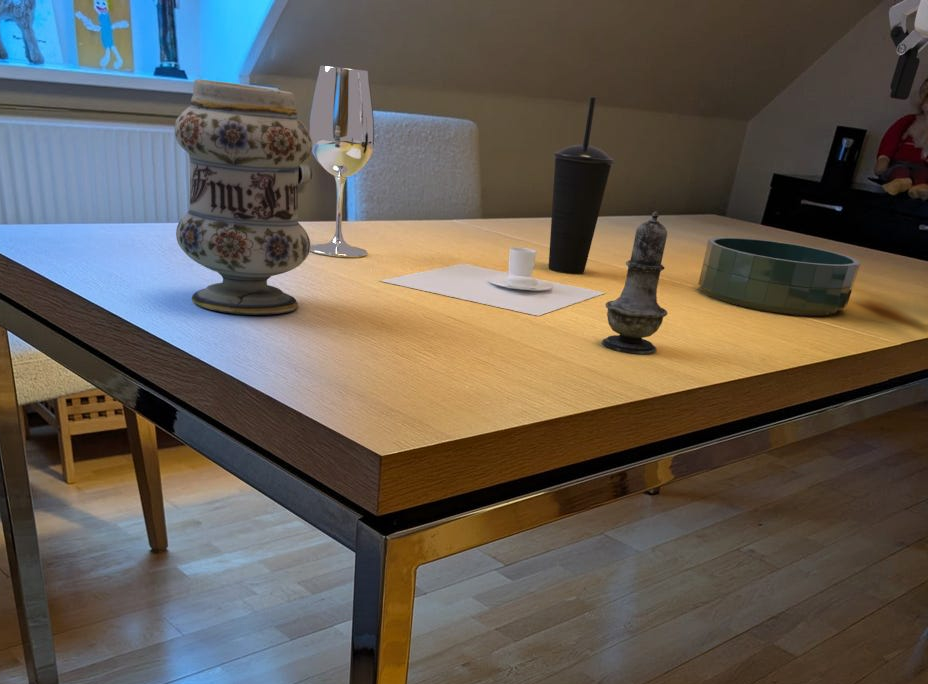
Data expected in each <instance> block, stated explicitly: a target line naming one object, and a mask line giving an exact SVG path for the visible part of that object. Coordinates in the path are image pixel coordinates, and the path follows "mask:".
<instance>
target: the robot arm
mask: <svg viewBox="0 0 928 684" xmlns="http://www.w3.org/2000/svg"><path fill="white" fill-rule="evenodd" d="M915 12H916V15H915V19H914V26H913V27H914V29H913V30H912V31H911V32H910V31H909V30H908V29H907V18H908V16H909V15H911V14H913V13H915ZM888 18H889V19H888V20H889V27H890V38H891V40H892V42H893V44H894V46H895V51H896V54H897V55H898V59H897V62H896V65H895V69H894V73H893V75H892V79H891V82H890V90H891V91H890V95H889V96H890V99H894V100H895V99H896V100H901V101H902V100H903V101H906V100H907V99H909V97H910V95H911V91H912V87H913V85H914V83H915V78H916V75H917V72H918V69H919V66H920V61H921V60H920V57H918V54H919V53H920V52H921V51H922V50H923V49H925V47H926V46H927V45H928V0H902V1H900V2H898V3H896V4H894V5H892V6H891V7H890V8H889V10H888Z"/></svg>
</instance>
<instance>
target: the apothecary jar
mask: <svg viewBox="0 0 928 684" xmlns="http://www.w3.org/2000/svg"><path fill="white" fill-rule="evenodd" d="M192 85H193V86H192V96H191V98H190V105H189V106H188V107H187V108H185V109H184V110H183V111H181V112H180V113H179V115H178V116H177V117H176V120H175V122H174V128H173V129H174V137H175V139H176V142H177V144H178V145H179V146H180V147H181V148H182V149H183V150H184V151H185V152H186V153H187V154H188V157H189V182H190V183H189V210H188V211H187V212H185V214H184V215H183V216H182V217H181V218H180V220H179V221H178V224H177V225H176V232H175V236H176V241H177V244H178V246H179V247H180V249H181V250H182V251H183V253H185V255H187V257H189V258H190V259H191V260H192V261H194V262H195V263H197V264H199V265H201V266H203V267H205V268H207V269H208V270H211V271H213V272H216V273H218V274H219V275H220V277H222V282H217V283H212V284H209V285H207V286H206V287H205V288H201V289H199V290H197V291H196V292H194V293H193V294H192V296H191V301H192V302H193V303H194V304H195V305H197V306H199V307H200V308H203V309H206V310H211V311H216V312H220V313H228V314H234V315H235V314H236V315H252V316H253V315H255V316H260V315H261V316H262V315H263V316H265V315H268V316H269V315H280V314H285V313H290V312H293V311H295V310H297V309H298V306H299V305H298V304H299V303H298V300H297V299H296V297H294V296H293V295H290V294H289V293H286V292H284V291H283V290H282V289H280V288H278V287H276V286H273V285H269V284H268V280H269V279H271V277H273V276H279V275H281V274H285V273H287V272H290V271H293V270H295V269H296V268H298V267H300V265H302V264H303V263H304V262H305V260H306V259H307V258H308V256H309V254H310V245H311V241H310V240H311V239H310V236H309V235H308V232H307V231H306V229H305V228H304V227H303V226H302V225H301V224H300V223H299V172H300V166H301V165H302V164H303V163H305V162H306V161H307V160H308V159H309V158H310V156H311V154H312V139H311V136H310V133H309V129H308V128H307V127H306V125H304V123H303V122H301V120H299V119H298V112H297V109H296V106H295V95H294V93H293V92H291V91H287V90H286V91H285V90H281V89H280V90H279V89H274V88H269V87H268V88H267V87H263V86H262V87H261V86H254V85H249V84H248V85H247V84H240V83H235V82H233V83H232V82H226V81H218V80H209V79H201V78H195V79H194V81H193V84H192Z"/></svg>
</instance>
